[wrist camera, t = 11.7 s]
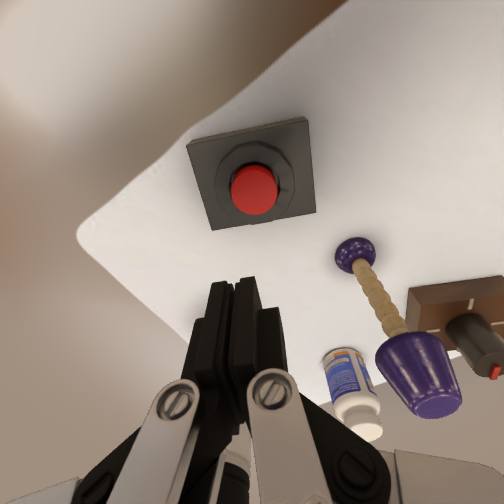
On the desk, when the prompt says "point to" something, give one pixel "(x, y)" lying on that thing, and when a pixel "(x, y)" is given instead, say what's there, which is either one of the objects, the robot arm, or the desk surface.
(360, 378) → the pill bottle
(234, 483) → the travel mug
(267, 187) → the button
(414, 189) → the desk surface
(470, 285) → the dimmer panel
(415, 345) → the toy lamp
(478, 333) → the dimmer knob
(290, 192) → the switch block
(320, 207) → the desk surface
